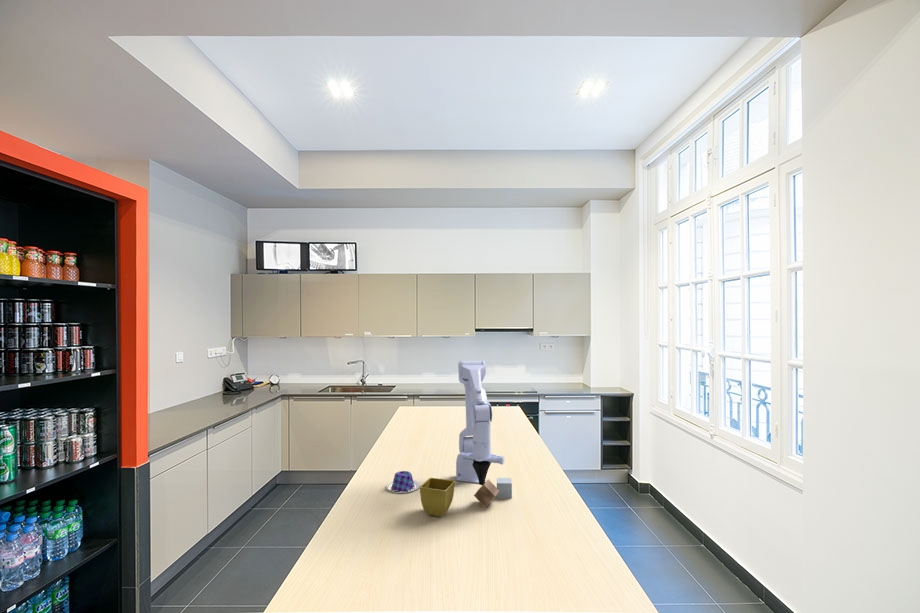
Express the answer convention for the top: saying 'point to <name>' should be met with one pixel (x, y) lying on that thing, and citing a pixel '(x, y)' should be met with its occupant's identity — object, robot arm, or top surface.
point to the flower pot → (437, 496)
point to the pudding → (403, 482)
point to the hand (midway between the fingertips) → (482, 483)
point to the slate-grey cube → (504, 487)
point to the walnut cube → (486, 493)
